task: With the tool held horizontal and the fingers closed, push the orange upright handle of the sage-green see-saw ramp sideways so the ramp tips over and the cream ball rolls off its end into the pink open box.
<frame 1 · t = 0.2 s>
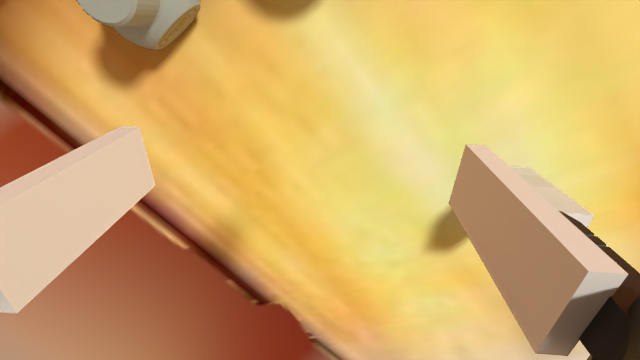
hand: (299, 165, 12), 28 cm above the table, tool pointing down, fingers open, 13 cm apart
skincare box: (507, 182, 43), on the table
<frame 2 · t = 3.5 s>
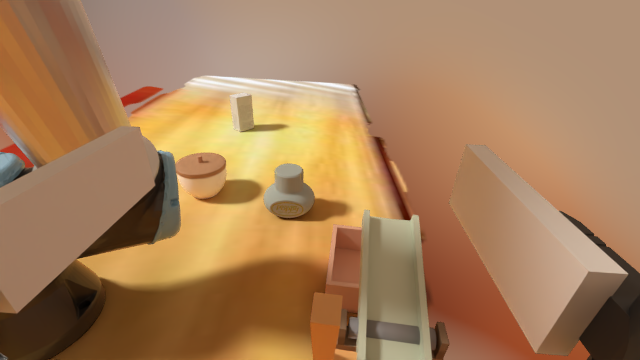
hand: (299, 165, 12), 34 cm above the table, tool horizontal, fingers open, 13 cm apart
skincare box: (243, 129, 106), on the table
air freshener: (289, 209, 66), on the table
pink open box: (367, 279, 50), on the table
lever: (386, 283, 24), point 20 cm above the table, hinge at -20.0°, touching ball
lidded jar: (205, 192, 71), on the table
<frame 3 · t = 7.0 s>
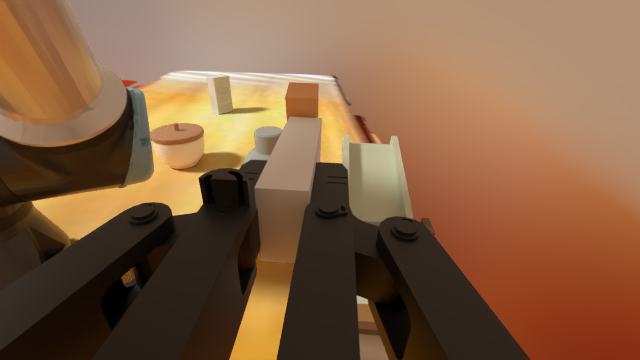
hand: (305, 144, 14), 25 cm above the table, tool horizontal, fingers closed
skincare box: (222, 112, 104), on the table
air freshener: (271, 175, 65), on the table
lever: (367, 166, 24), point 20 cm above the table, hinge at -16.2°, touching ball, gripper
lidded jar: (183, 164, 68), on the table
stand: (360, 331, 33), on the table
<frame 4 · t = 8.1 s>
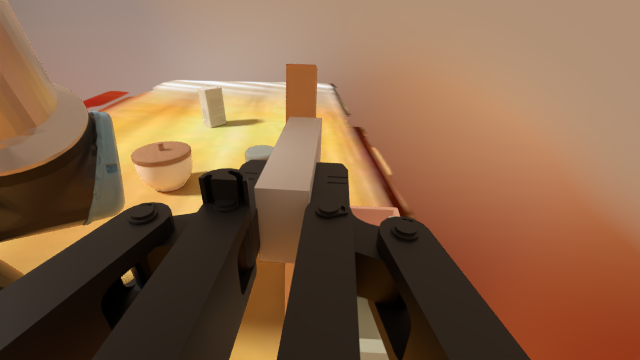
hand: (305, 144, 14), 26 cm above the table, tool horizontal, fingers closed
skincare box: (215, 125, 99), on the table
air freshener: (264, 197, 60), on the table
pink open box: (354, 262, 44), on the table
lever: (367, 210, 22), point 19 cm above the table, hinge at 14.0°, touching ball, gripper
lidded jar: (170, 185, 63), on the table
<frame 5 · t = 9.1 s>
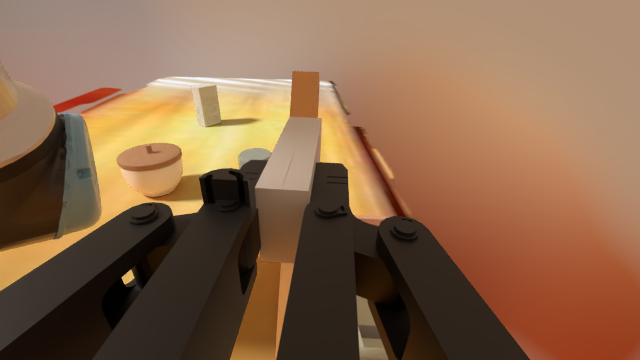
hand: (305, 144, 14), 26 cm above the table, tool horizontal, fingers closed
skincare box: (209, 124, 96), on the table
air freshener: (259, 203, 56), on the table
lever: (368, 241, 21), point 17 cm above the table, hinge at 34.7°, touching gripper, stand
lidded jar: (159, 189, 60), on the table
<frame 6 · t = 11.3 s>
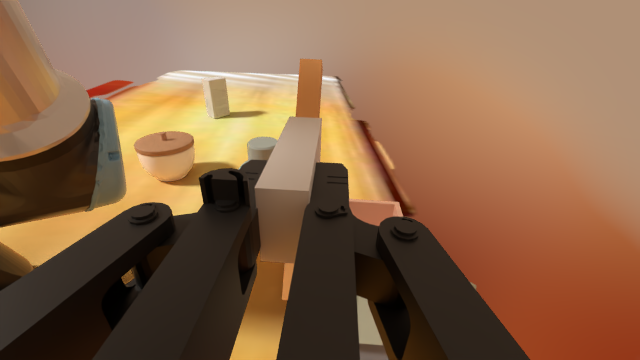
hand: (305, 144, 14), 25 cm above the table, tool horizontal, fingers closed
skincare box: (218, 116, 99), on the table
air freshener: (266, 189, 60), on the table
pink open box: (354, 255, 44), on the table
lever: (362, 208, 24), point 17 cm above the table, hinge at 34.7°
lidded jar: (172, 175, 63), on the table
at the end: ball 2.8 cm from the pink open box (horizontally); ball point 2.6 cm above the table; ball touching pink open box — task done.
